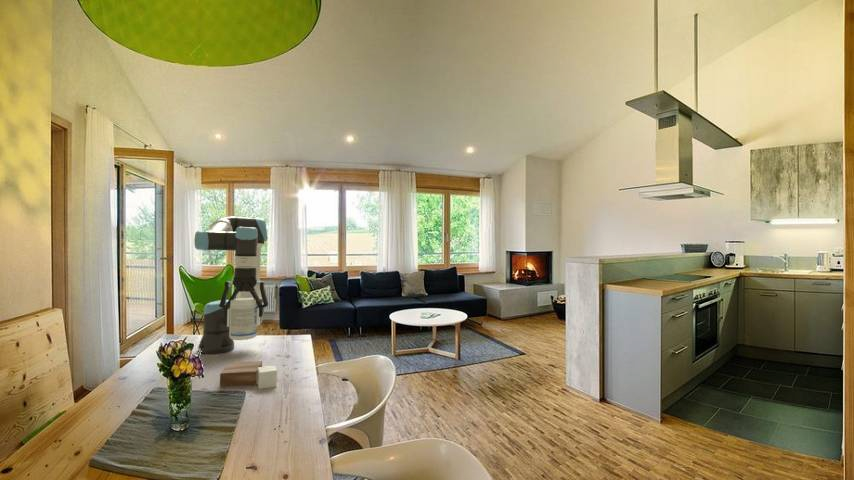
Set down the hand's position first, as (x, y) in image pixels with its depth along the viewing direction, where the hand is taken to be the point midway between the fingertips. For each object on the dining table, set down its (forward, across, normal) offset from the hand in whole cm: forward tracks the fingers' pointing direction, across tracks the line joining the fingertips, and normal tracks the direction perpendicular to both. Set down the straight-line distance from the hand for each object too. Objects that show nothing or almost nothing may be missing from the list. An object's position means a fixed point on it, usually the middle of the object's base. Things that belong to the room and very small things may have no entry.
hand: (243, 325), depth 142 cm
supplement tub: (+5, 0, 0) cm, 5 cm away
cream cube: (+21, +10, -6) cm, 24 cm away
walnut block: (+21, 0, 0) cm, 21 cm away
